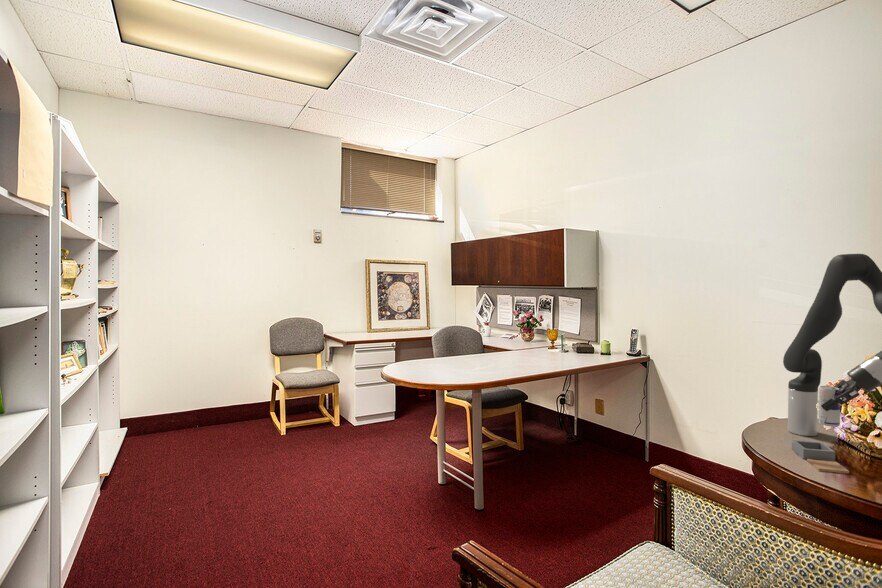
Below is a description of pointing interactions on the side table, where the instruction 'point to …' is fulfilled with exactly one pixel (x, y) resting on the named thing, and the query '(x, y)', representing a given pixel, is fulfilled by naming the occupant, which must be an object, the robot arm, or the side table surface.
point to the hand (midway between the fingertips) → (822, 406)
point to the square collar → (813, 450)
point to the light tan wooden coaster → (827, 466)
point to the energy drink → (833, 414)
